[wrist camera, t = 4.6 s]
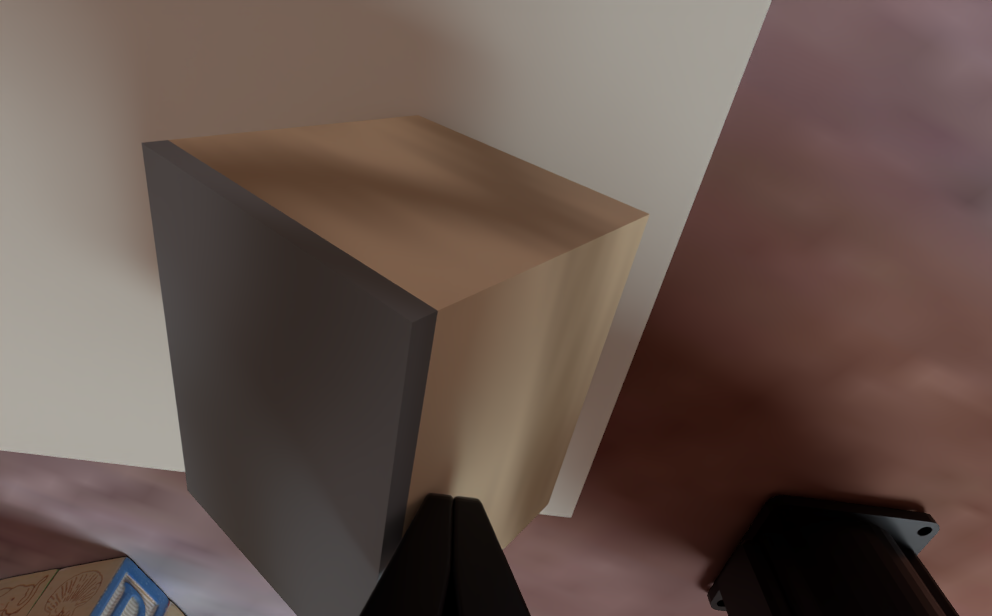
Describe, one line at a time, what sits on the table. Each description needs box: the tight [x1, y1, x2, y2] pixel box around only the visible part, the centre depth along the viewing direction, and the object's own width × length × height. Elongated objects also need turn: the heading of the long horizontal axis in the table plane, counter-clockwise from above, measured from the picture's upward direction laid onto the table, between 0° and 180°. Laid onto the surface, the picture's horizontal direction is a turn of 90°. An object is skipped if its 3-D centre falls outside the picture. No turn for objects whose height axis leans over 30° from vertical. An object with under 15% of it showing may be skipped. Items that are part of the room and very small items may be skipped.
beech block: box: [142, 115, 650, 616], centre depth 12 cm, size 6×8×6 cm
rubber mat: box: [0, 0, 772, 518], centre depth 15 cm, size 23×18×1 cm
